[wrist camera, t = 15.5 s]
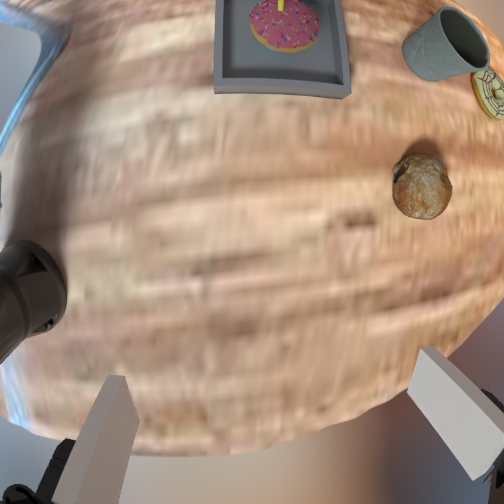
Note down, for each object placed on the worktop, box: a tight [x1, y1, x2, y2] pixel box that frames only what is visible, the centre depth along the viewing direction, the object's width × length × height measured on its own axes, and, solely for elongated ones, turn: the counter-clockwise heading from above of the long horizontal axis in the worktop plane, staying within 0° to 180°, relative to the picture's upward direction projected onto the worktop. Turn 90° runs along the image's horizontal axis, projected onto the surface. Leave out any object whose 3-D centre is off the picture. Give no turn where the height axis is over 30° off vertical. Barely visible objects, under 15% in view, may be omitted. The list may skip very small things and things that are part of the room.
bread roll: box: [392, 153, 452, 220], centre depth 37 cm, size 10×10×8 cm
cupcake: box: [249, 0, 319, 53], centre depth 26 cm, size 9×8×12 cm
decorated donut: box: [471, 67, 504, 121], centre depth 34 cm, size 10×11×4 cm
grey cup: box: [402, 7, 490, 82], centre depth 28 cm, size 10×10×12 cm
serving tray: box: [214, 0, 351, 100], centre depth 31 cm, size 17×17×4 cm
